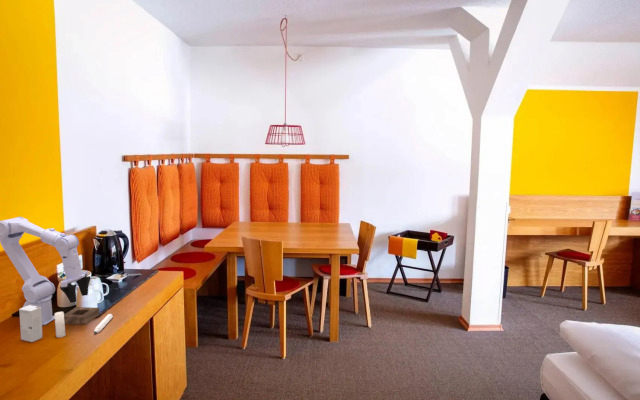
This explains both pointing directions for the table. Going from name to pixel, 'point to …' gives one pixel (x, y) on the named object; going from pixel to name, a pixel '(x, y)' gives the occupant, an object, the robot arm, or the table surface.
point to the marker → (103, 323)
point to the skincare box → (30, 323)
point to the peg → (59, 324)
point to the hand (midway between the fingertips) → (79, 298)
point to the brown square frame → (81, 315)
